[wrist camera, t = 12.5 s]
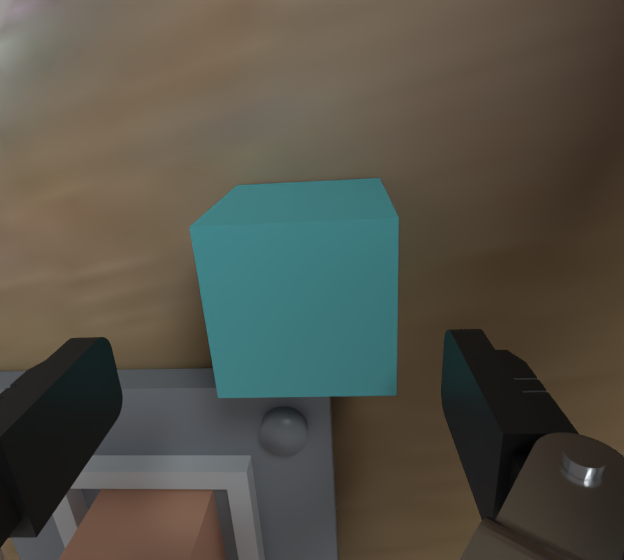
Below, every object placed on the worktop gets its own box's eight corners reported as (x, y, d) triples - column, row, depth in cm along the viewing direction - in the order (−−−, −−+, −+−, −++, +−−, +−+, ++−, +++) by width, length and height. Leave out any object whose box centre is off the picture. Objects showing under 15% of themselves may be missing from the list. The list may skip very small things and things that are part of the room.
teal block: (237, 185, 18) (189, 226, 12) (379, 177, 17) (399, 217, 12) (252, 312, 20) (218, 398, 14) (380, 308, 19) (396, 395, 14)
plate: (-27, 371, 22) (-71, 405, 19) (329, 366, 20) (328, 401, 18) (65, 605, 28) (41, 651, 26) (341, 612, 27) (341, 661, 24)
